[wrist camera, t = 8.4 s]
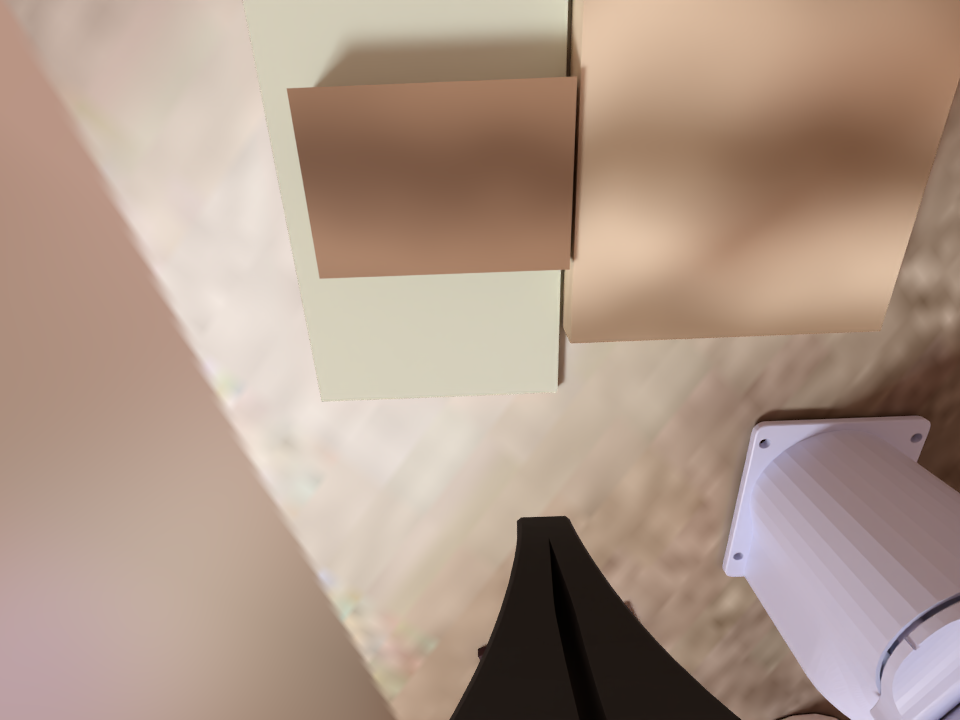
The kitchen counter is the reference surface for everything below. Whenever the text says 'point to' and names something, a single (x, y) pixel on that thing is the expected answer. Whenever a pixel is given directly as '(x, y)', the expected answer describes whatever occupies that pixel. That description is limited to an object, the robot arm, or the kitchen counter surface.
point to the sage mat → (413, 298)
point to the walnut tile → (438, 175)
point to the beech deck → (749, 162)
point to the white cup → (810, 717)
